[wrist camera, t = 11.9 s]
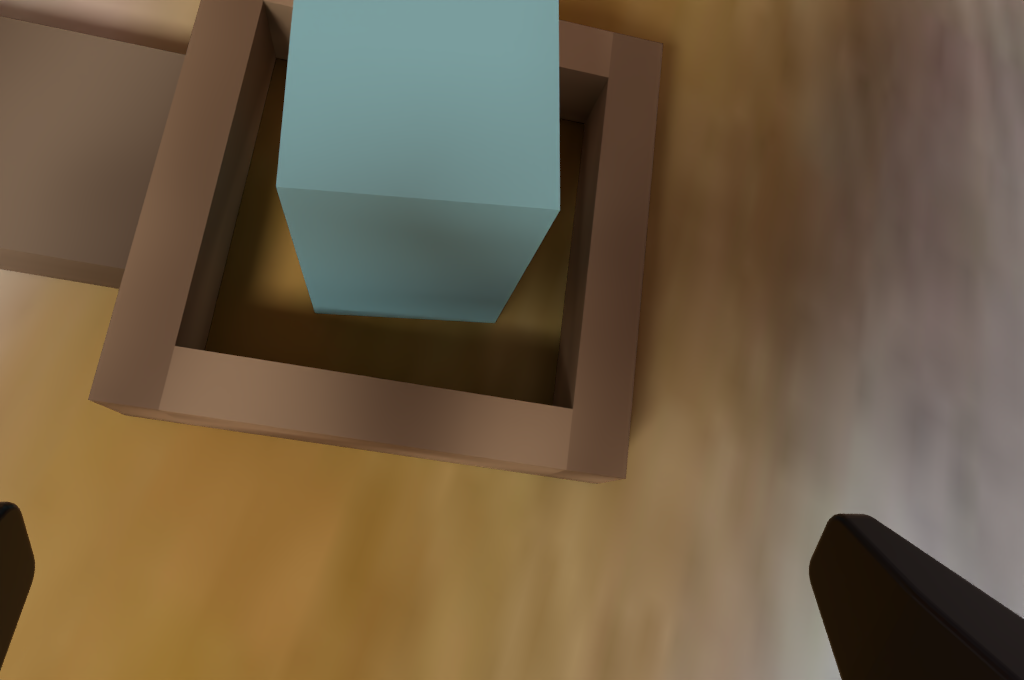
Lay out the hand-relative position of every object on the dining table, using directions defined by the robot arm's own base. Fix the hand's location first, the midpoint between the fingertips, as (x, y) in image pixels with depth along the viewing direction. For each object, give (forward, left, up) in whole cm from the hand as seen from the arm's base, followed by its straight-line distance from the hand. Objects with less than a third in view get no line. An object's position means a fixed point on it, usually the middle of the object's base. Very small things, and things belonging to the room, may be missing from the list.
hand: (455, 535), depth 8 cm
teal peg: (-1, +8, -12) cm, 14 cm away
